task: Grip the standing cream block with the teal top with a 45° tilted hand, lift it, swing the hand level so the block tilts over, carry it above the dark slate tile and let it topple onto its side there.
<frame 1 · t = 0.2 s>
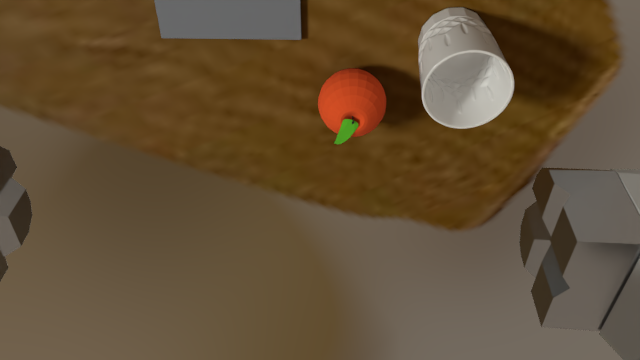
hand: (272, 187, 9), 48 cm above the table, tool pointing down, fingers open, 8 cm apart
white cup: (451, 37, 59), on the table
clementine: (349, 88, 63), on the table
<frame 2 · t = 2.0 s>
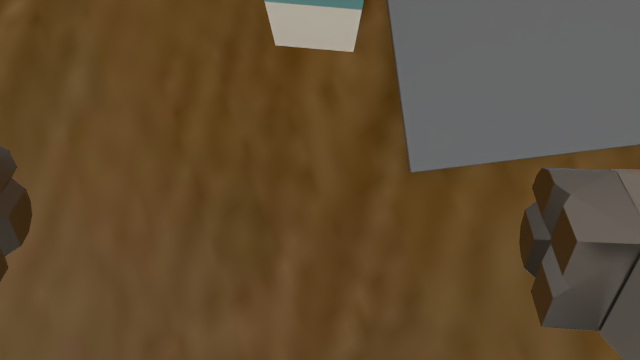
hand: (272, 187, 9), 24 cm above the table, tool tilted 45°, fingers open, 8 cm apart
slate tile: (522, 36, 34), on the table
block: (317, 10, 34), on the table
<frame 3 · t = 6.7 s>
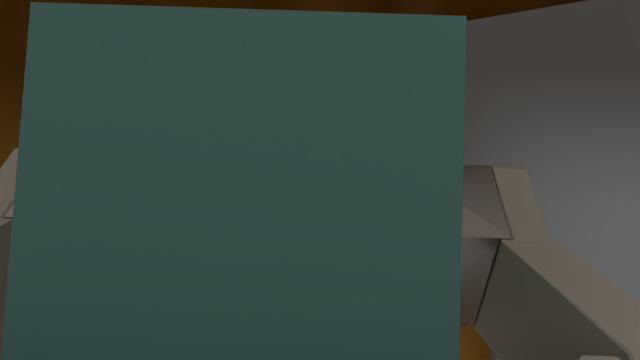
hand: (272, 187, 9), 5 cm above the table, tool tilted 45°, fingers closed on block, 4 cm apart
block: (291, 228, 14), on the table, touching gripper
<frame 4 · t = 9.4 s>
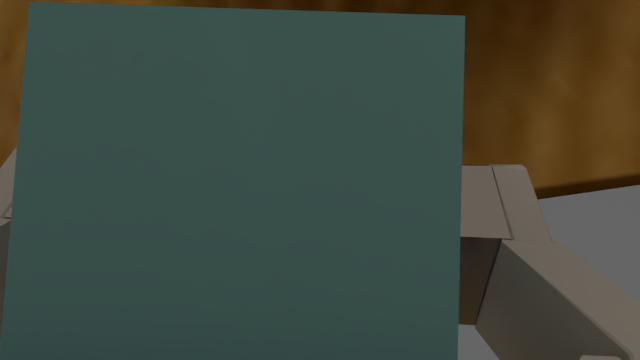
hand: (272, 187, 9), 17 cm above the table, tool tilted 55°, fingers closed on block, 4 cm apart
block: (291, 229, 14), point 13 cm above the table, tilted 12°, touching gripper
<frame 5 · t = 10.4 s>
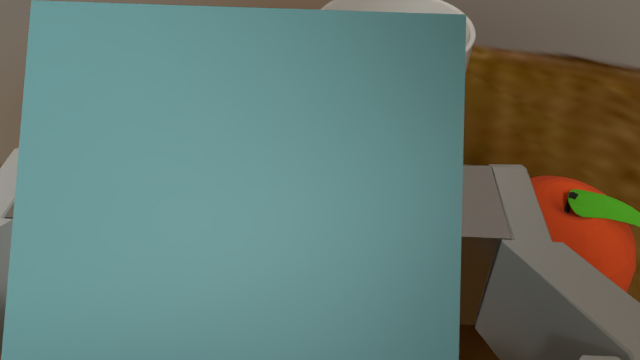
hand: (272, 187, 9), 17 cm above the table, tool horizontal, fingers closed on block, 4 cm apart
white cup: (376, 178, 36), on the table
block: (291, 228, 14), point 14 cm above the table, tilted 43°, touching gripper
clementine: (540, 302, 29), on the table
when the fingers open (10 cm above the table, at t = 12.3 s): block drops 3 cm and tips over, resting on slate tile.
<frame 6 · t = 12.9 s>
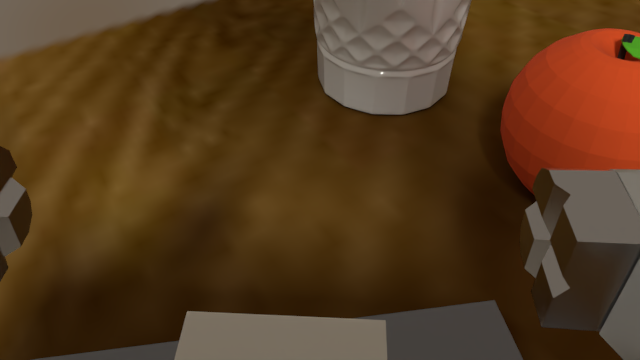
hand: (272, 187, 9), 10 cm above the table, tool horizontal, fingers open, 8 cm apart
white cup: (382, 84, 31), on the table
clementine: (582, 199, 25), on the table
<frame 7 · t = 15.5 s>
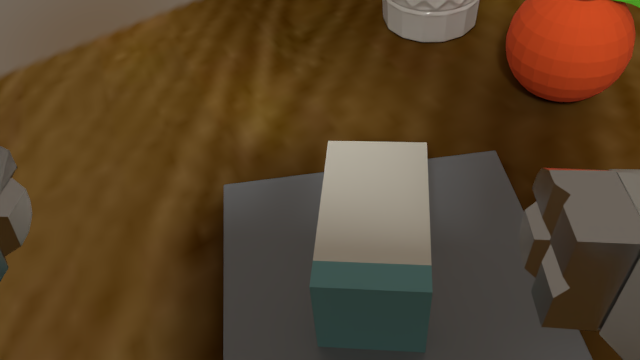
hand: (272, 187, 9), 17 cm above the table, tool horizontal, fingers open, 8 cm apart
slate tile: (384, 279, 28), on the table
white cup: (429, 20, 44), on the table
block: (376, 175, 29), point 3 cm above the table, tilted 90°, touching slate tile
clementine: (563, 93, 37), on the table
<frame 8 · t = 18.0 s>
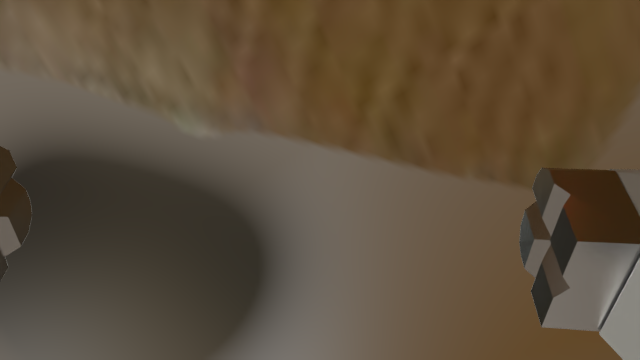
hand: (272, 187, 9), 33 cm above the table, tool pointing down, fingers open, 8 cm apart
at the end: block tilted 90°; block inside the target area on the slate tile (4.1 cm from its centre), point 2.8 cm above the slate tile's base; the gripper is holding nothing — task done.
